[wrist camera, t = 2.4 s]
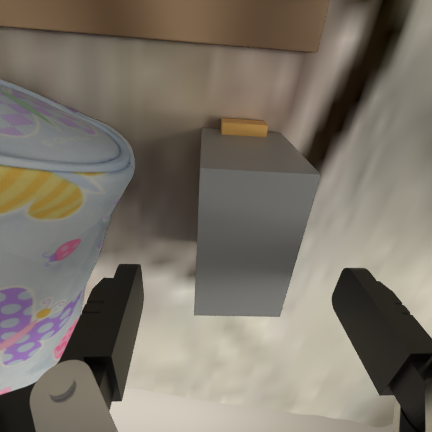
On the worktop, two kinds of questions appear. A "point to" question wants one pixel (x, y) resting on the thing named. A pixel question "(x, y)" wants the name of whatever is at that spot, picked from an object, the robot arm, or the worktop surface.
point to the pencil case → (50, 224)
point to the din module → (249, 218)
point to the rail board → (179, 20)
